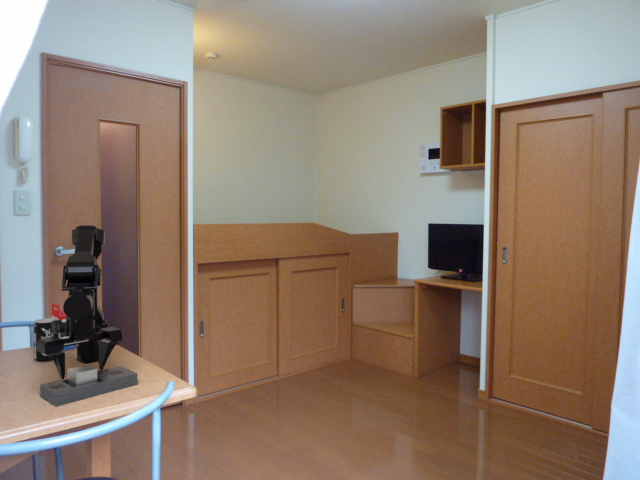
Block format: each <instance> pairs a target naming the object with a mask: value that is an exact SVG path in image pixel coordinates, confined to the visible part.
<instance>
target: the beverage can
mask: <svg viewBox="0 0 640 480" xmlns="http://www.w3.org/2000/svg"><path fill="white" fill-rule="evenodd" d="M54 320H57V319H55V318H52V317H48V318H47V317H45V318H39V319H35V320H34V322H35V323H34V324H33V328H32V329H33V360H35V361H36V362H40V363H46V362H52V361H53V360H52V358H51V357H50V356H48V355H45V354H43V353H41V352H39V351H37V346H36V344H37V342H38V340H39V339H41V338H47V337H53V336H55V337H58V338H59V333H58V334H52V330H51V322H52V321H54Z"/></svg>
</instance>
